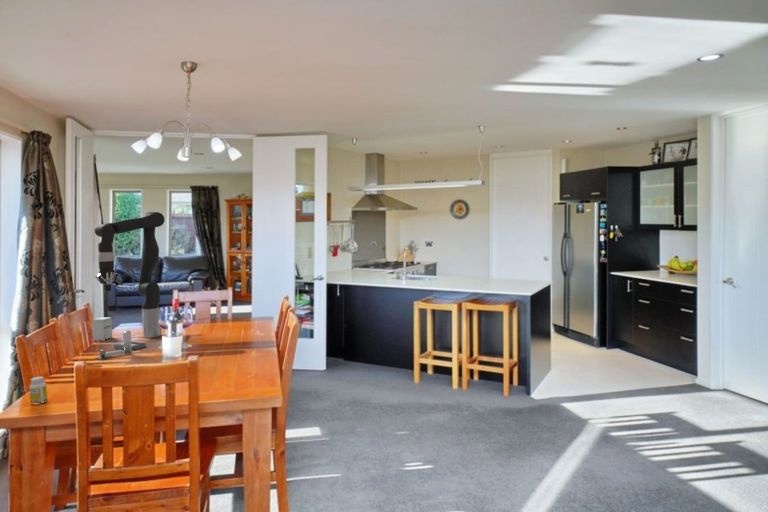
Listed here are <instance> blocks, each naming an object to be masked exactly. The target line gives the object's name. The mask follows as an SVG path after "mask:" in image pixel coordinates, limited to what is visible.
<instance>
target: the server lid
mask: <svg viewBox="0 0 768 512" xmlns="http://www.w3.org/2000/svg"><path fill="white" fill-rule="evenodd" d="M146 347H147V344H146V343H145V342H138V341H133V340H131V348H132V351H135V350H134V349H136V350H140V349H143V348H146ZM115 348H120V349H119V350H123V349H124V343H123V342H119V343H115V344H113V349H115ZM139 348H140V349H139Z"/></svg>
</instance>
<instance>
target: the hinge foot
mask: <svg viewBox="0 0 768 512" xmlns="http://www.w3.org/2000/svg"><path fill="white" fill-rule="evenodd" d="M110 357H111V358H113V356H108V357H100V356H97V357H96V358H97V359H96V360H98V359H100V360H99V361H103V359H104V360H106V359H110Z"/></svg>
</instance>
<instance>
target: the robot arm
mask: <svg viewBox="0 0 768 512" xmlns="http://www.w3.org/2000/svg"><path fill="white" fill-rule="evenodd" d="M164 223H165V216H164V215H163V213H161V212H158V211H148V212H146V213H145V214H144V215H143V217H136V218H130V219H129V218H127V219H123V220H117V221H115V222H108V223H102V224H98V225H97V226H95V228H94V233H95V235H96V236H97V237H100V238H101V241H100V242H98V244H97V248H98V258H97V259H98V269H99V272H98V274H97V275H95V279H96V280H97V281H98V282H99V283H100V284H101V285H104V290H105V292H111V291H112V284H114V283H115V281H116V280H117V279H118V277H119V273H117V272H115V260H114V259H115V256H114V248H113V243H114V239H115V235H118V234H124V233H128V232H132V231H136V230H140V229H142V232H143V233H142V234H143V235H142V238H143V239H142V249H141V250H142V251H141V265H140V275H139V281H138V285H137V286H138V287H137V291H138V294H139V295H140V296H141V297H144V298H145V302H143V303H142V304H141V313H142V314H141V316H142V317H141V318H142V334H143V338H144V339H145V338H146V339H147V338H148V339H150V338H152V339H153V338H158V337H160V336H162V327H161V328H160V326H159V325H158V315H159V316H160V308H159V307H160V306H159V305H160V302H161V294H160V293H161V289H160V285H159V284H158V282H155V281H152V276H153V272H154V270H155V268H156V266H157V264H158V262H159V259H160V258H159V256H160V248H159V244H158V242H157V239H156V228H159V227H161V226H163V225H164Z"/></svg>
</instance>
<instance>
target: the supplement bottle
mask: <svg viewBox="0 0 768 512" xmlns="http://www.w3.org/2000/svg"><path fill="white" fill-rule="evenodd" d="M44 379H45V377H44V376H35V377H34V376H33V377H32V378H31V380H30V383H31V384H30V385H29V399H30V404H31V403H42V402H45V401H47V402H48V391H47V383H46V382H44Z"/></svg>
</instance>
